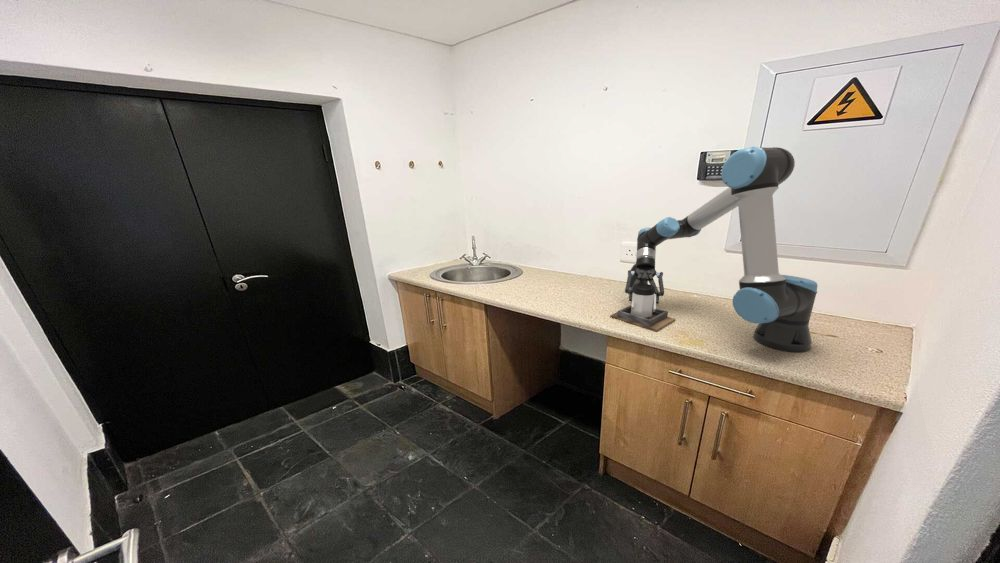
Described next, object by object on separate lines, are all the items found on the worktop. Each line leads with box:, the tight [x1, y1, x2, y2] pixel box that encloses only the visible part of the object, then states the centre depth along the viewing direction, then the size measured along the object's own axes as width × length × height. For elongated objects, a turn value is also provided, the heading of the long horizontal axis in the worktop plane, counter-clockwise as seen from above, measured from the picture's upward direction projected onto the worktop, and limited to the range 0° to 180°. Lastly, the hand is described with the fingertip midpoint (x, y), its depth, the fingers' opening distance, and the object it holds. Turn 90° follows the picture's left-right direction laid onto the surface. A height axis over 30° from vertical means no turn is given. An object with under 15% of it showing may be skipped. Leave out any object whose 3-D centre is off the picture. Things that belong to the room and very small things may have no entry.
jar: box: [631, 283, 655, 318], centre depth 135 cm, size 9×8×12 cm
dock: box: [610, 304, 676, 333], centre depth 137 cm, size 20×15×4 cm
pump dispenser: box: [625, 263, 649, 290], centre depth 168 cm, size 10×10×15 cm
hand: (643, 309), depth 132 cm, fingers closed on jar, 7 cm apart
